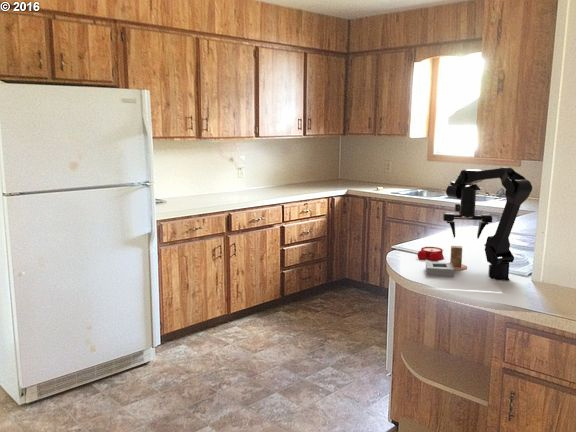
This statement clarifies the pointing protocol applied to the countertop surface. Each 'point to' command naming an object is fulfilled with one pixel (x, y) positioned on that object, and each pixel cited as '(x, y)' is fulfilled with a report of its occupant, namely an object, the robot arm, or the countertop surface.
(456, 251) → the walnut block
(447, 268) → the pocket holder
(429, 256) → the alarm clock
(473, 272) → the countertop surface
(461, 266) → the terracotta plate
